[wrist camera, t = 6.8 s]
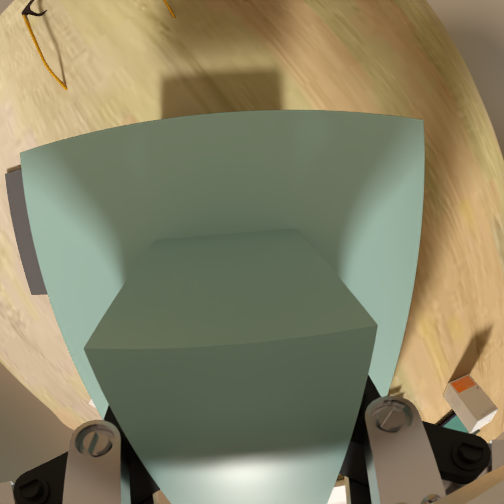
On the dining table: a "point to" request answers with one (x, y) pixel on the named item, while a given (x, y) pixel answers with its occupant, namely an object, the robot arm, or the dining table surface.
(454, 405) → the skincare box
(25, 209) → the mat
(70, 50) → the dining table surface
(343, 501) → the salad plate
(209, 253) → the lid
